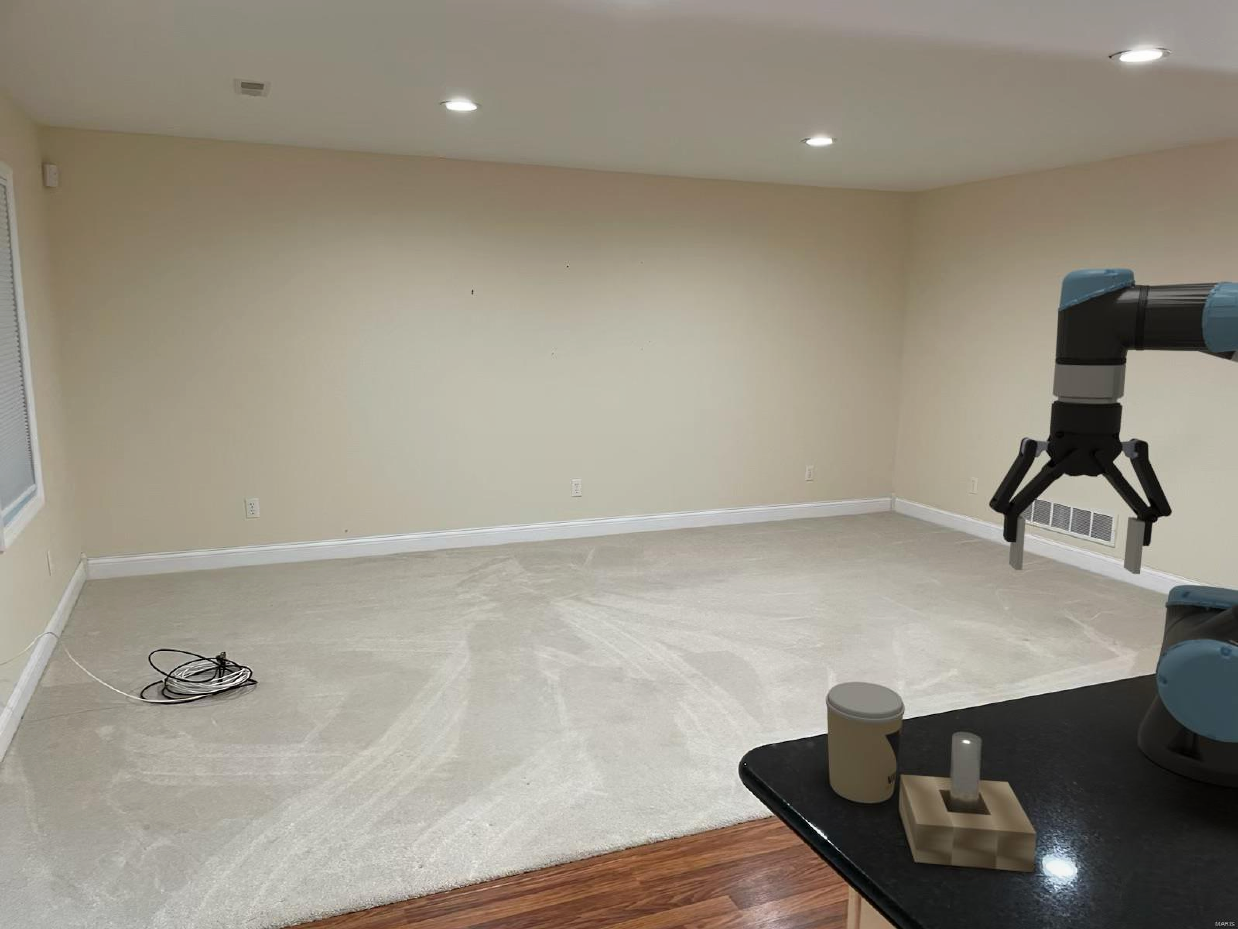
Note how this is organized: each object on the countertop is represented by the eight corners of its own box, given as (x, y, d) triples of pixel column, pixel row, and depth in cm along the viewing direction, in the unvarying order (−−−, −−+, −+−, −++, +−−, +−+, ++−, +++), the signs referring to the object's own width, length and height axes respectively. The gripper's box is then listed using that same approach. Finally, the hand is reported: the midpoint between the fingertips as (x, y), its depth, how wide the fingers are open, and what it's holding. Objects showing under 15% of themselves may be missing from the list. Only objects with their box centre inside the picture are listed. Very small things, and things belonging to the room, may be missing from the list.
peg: (972, 831, 95) (977, 733, 93) (979, 847, 92) (984, 745, 90) (944, 829, 95) (949, 731, 93) (950, 845, 92) (955, 744, 90)
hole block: (1005, 817, 97) (1007, 782, 96) (1033, 872, 87) (1036, 833, 87) (898, 809, 99) (900, 774, 98) (914, 862, 89) (916, 823, 89)
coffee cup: (905, 811, 99) (910, 717, 97) (824, 803, 101) (827, 710, 99) (895, 770, 108) (899, 683, 106) (821, 763, 110) (824, 678, 108)
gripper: (1183, 397, 102) (1166, 563, 106) (970, 396, 106) (961, 557, 110) (1216, 403, 95) (1197, 581, 98) (986, 402, 99) (975, 573, 102)
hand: (1072, 569), depth 104 cm, fingers open, 13 cm apart
